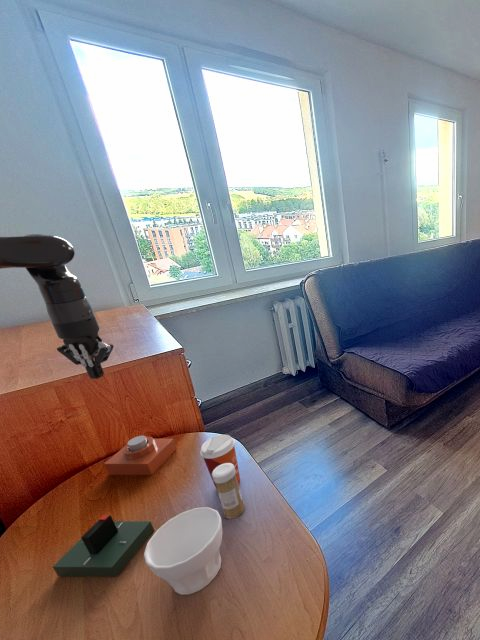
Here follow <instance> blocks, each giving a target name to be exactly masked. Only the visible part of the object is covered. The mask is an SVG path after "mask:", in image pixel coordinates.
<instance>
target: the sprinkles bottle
mask: <svg viewBox="0 0 480 640" xmlns="http://www.w3.org/2000/svg"><path fill="white" fill-rule="evenodd" d="M235 473H236V471H235V467H234V465H233V464H231V463H224V464H221V465H219V466H218V467H216V468H215V469H214V470H213V472H212V478H213V480H212V482H213V481H214V482H215V484H216V487H217V490H216V492H217V495H218V498H219V501H220V504H221V507H222V510H223V515H224V517H225V518H226V519H229V520H232V519H235V518H238V517H239V516H240V515H242V514H243V513H244V511H245V509H246V504H245V503H244V500H243V494H242V491H241V487H240V484H239V485H238V482H237V478H236V474H235ZM212 478H211V479H212Z"/></svg>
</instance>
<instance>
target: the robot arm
mask: <svg viewBox="0 0 480 640" xmlns="http://www.w3.org/2000/svg"><path fill="white" fill-rule="evenodd" d="M75 255H76V250H75V248H74V246H73V245H72V244H71V243H70V242H69V240H66V239H65V238H62V237H59V236H57V235H51V234H39V233H32V234H27V235H22V236H0V270H2V269H11V268H14V269H15V268H17V269H18V268H19V269H21V268H23V269H24V268H25V269H26V271H27V273H28V274H29V275H30V277H31V278H32V279H33V280H34V282H35V283H36V285H37V287H38V290H39V292H40V294H41V296H42V299H43V302H44V304H45V308H46V312H47V315H48V318H49V319H50V321H51V324H52V327H53V329H54V331H55V334H56V335H57V337H58V338H59V339H60V340H62V342H63V344H62V345H61V346H58V347H56V351H57V352H58V353H60V354H61V355H63V356H64V357H65V358H67V360H69V361H70V362H72V363H73V364H74V365H78V366H79V365H81V367H83V368H85V370H86V373H87V375H88V376H89V378H90V380H91V379H92V380H98V379H100V378H102V377H103V376H104V374H105V371H104V369H103V367H102V363H104V362H106V361H108V360H109V358H110V356H111V353H112V351H113V349H114V344H112V343H109V344H107V343H105V342H104V341H103V339H102V337H101V336H100V335H99V331H100V326H99V324H98V320H97V319H96V316H95V313H94V310H93V308H92V305H91V303H90V301H89V300H88V298H87V296H86V294H85V291H84V289H83V288H84V287H83V286H82V283H81V281H80V279H79V278H78V277H77V276H76V275H74V274H73V273H71V272H70V271H69V269H68V268H67V266H66V265H67V264H69V263H70V262H72V261H73V259H74V258H75Z"/></svg>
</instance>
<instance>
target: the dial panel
mask: <svg viewBox="0 0 480 640" xmlns="http://www.w3.org/2000/svg"><path fill="white" fill-rule="evenodd" d="M113 521H114V523H115V525H116V528H117V530H118V532H117V533H116V534H115V536H114V537H113V538H112V539H111V540H110V541H109V542H108V543H107V544H106V545H105V546H104V547H103V549H102V550H101V551H100V552H99V553H98V554H90V553H89V552H88V550H87V548H86V546H85V544H84V542H83V540H82V539H81V538H80V539H79V540H78V541H77V542H76V543H75V544H74V545H73V546H71V548H70V549H69V550H68V551H67V552H66V553H65V554H64V555H63V556H62V557H61V558H60V559H59V560H58V561H57V562H56V563H55V564H54V565H53V566H52V569H53V571H54V572H55V573H56V575H57V576H58V577H60V578H62V577H64V578H65V577H69V578H70V577H71V578H76V577H77V578H78V577H79V578H83V577H86V578H89V577H90V578H103V577H104V578H105V577H106V578H117V577H118V576H119V575H120V573H122V571H123V570H124V569H125V568H126V566H127V565H128V563H129V562H130V561H131V560H132V559H133V557H134V556H135V555H137V553H138V551H139V550H140V549H141V548H142V547H143V545H144V544H145V543H146V541H148V539H149V537H150V536H151V535H152V534H154V532H155V529H154V526H153V523H152V521H149V520H146V521H144V520H143V521H142V520H141V521H139V520H125V521H124V520H113Z"/></svg>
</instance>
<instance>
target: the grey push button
mask: <svg viewBox="0 0 480 640" xmlns="http://www.w3.org/2000/svg"><path fill="white" fill-rule="evenodd" d="M146 437H147V436H145V435H138V436H135V437H133V438H131V439H129V440H128V441H127V443H126V445H127V444H128V447H129V449H130V451H135V450H139V449H141V448H143V447H145V446H146V445H147V444H148V442H147V440H146Z"/></svg>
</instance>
